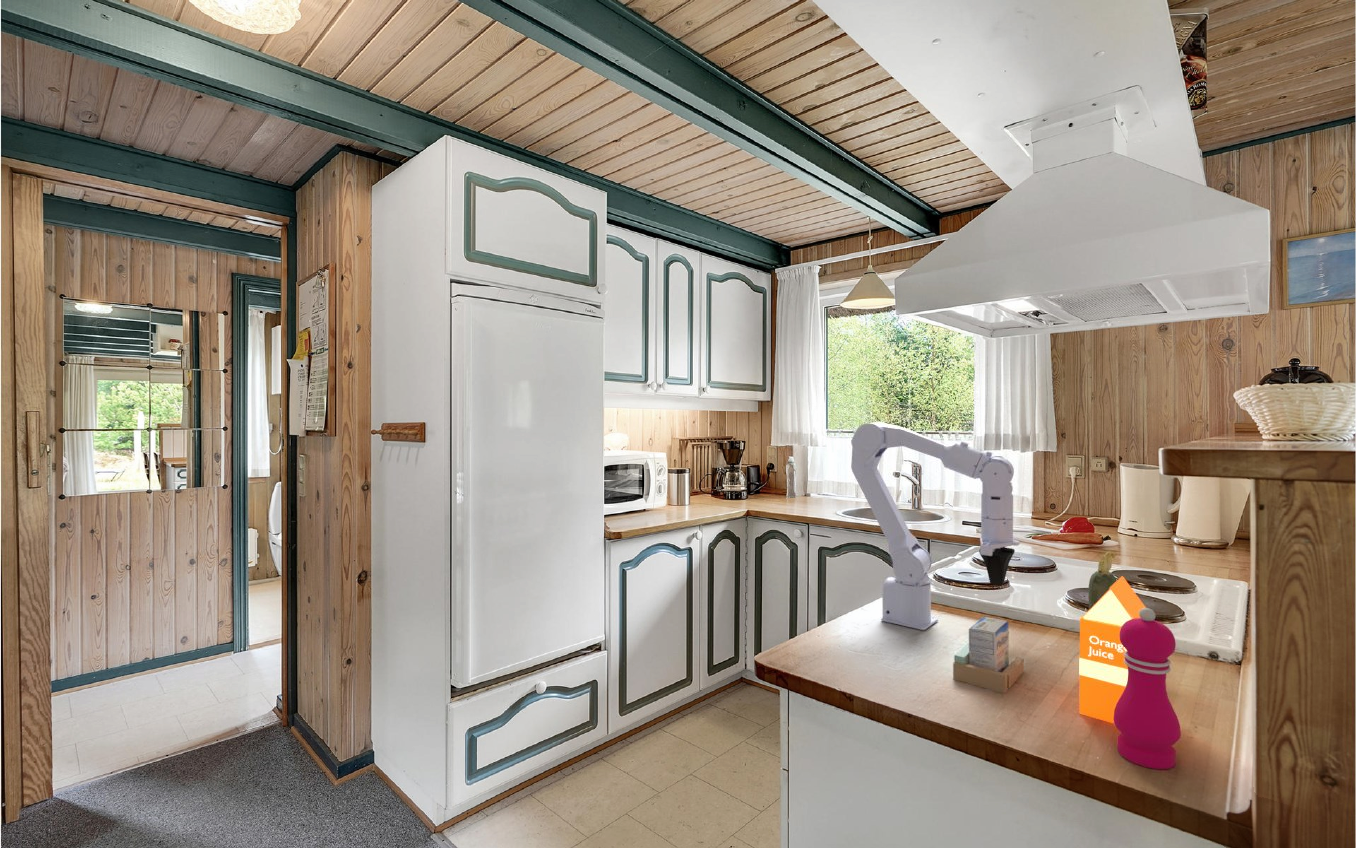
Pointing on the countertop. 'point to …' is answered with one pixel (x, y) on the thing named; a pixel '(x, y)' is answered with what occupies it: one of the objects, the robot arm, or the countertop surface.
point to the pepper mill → (1147, 694)
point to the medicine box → (989, 644)
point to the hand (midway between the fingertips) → (996, 584)
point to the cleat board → (985, 672)
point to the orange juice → (1105, 651)
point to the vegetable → (1101, 579)
